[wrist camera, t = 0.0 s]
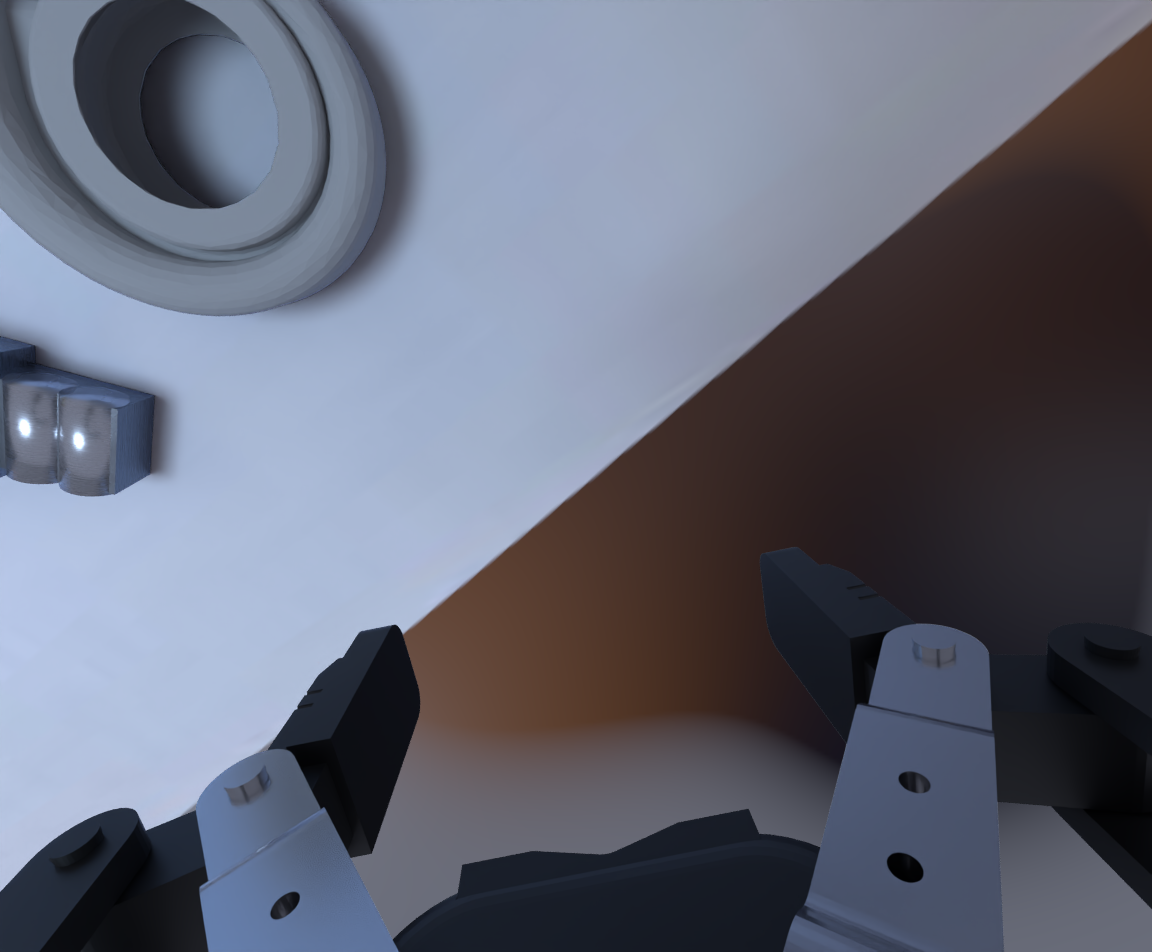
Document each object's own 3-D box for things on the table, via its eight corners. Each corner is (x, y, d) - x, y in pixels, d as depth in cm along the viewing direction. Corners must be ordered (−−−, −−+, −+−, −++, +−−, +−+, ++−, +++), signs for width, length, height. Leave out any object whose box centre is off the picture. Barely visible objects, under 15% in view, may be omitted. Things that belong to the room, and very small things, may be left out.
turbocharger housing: (395, 318, 32) (389, -4, 26) (374, 335, 26) (360, -77, 20) (60, 289, 29) (-26, -80, 23) (-50, 301, 23) (-202, -192, 17)
